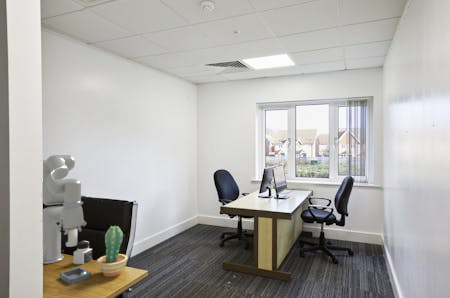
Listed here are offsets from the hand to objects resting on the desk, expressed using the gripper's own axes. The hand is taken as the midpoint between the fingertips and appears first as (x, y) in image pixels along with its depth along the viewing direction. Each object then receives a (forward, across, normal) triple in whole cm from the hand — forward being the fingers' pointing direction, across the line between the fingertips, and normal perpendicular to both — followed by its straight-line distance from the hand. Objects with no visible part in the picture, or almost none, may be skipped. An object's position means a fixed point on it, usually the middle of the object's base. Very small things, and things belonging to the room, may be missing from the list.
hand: (71, 239), depth 148 cm
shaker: (+3, 0, 0) cm, 3 cm away
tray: (+19, -1, +3) cm, 20 cm away
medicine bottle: (+20, -14, -16) cm, 29 cm away
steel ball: (+19, -3, +7) cm, 20 cm away
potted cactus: (+19, -16, +12) cm, 28 cm away
